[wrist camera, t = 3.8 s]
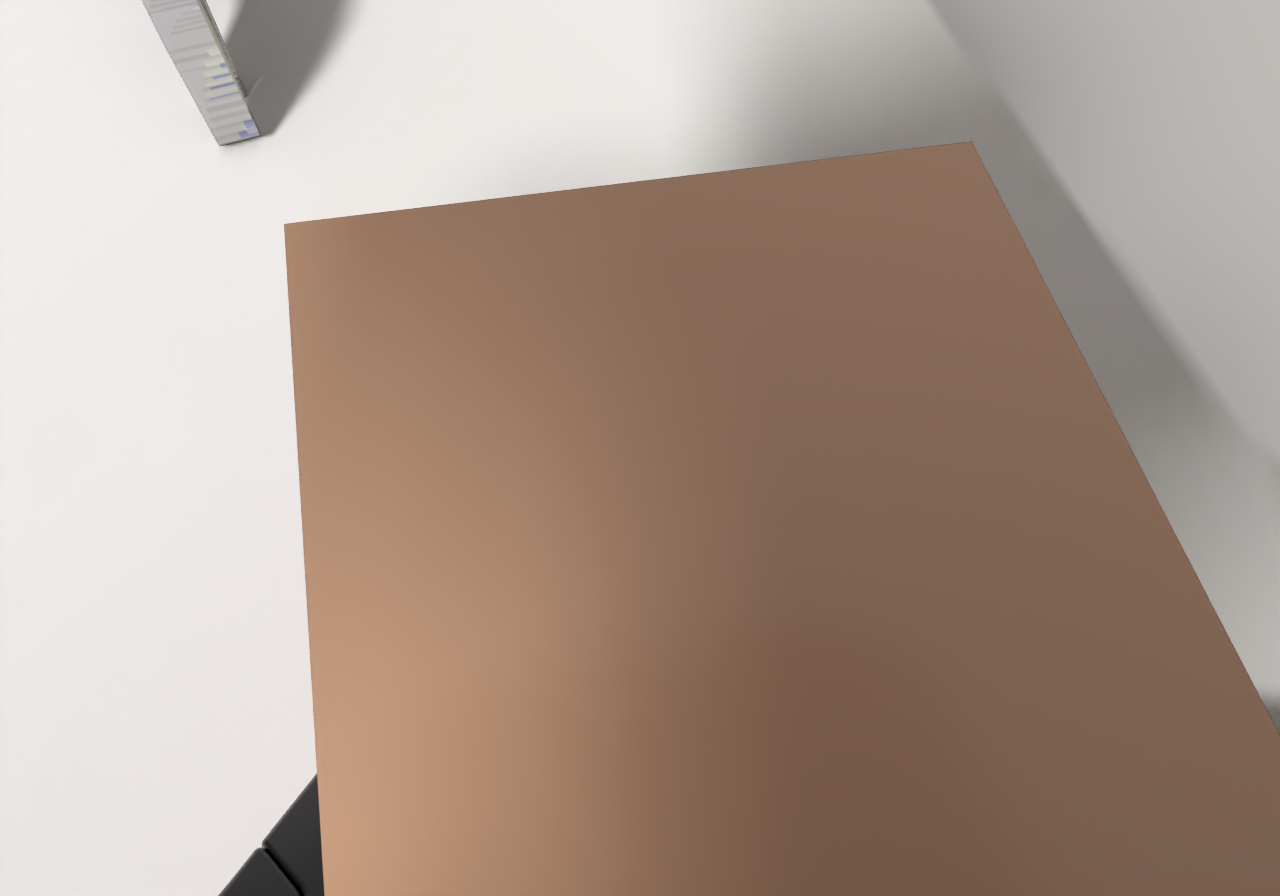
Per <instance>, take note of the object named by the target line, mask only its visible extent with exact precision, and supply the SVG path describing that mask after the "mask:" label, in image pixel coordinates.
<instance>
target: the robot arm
mask: <svg viewBox="0 0 1280 896" xmlns="http://www.w3.org/2000/svg"><path fill="white" fill-rule="evenodd" d="M218 896H325V895H324V878H323V862H322V845H321V829H320V812H319V795H318V779H317V774H316V775H315V776H314V778H313V779H312V780H311V781H310V783H309V784H308V785H307V786H306V788H305V789H304V790H303V791H302V793H301V794H300V795H299V796H298V798H297V799H296V800H295V801H294V803H293V804H292V805H291V806H290V808H289V809H288V810H287V811H286V813H285V814H284V815H283V816H282V818H281V819H280V820H279V821H278V823H277V824H276V825H275V826H274V828H273V829H272V830H271V831H270V833H269V834H268V835H267V836H266V838H265V839H264V840H263V842H262V848H258V849H256V850H255V851H254V852H253V853H252V855H251V856H250V857H249V858H248V860H247V861H246V862H245V863H244V865H243V866H242V867H241V868H240V870H239V871H238V872H237V873H236V875H235V876H234V877H233V878H232V880H231V881H230V882H229V883H228V885H227V886H226V887H225V888H224V889H223V891H222V892H221V893H220V894H219V895H218Z"/></svg>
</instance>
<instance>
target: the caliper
mask: <svg viewBox="0 0 1280 896" xmlns="http://www.w3.org/2000/svg"><path fill="white" fill-rule="evenodd" d="M142 2H143V4H144V6H145V8H146V10H147V12H148V14H149V16H150V18H151V20H152V22H153V24H154V26H155V28H156V30H157V32H158V34H159V36H160V38H161V40H162V42H163V44H164V46H165V48H166V49H167V51H168V53H169V55H170V57H171V59H172V61H173V62H174V64H175V66H176V68H177V70H178V72H179V73H180V75H181V77H182V79H183V81H184V83H185V85H186V86H187V88H188V90H189V92H190V94H191V96H192V97H193V99H194V101H195V103H196V105H197V107H198V108H199V110H200V112H201V114H202V116H203V118H204V120H205V121H206V123H207V125H208V127H209V129H210V130H211V132H212V134H213V136H214V138H215V140H216V141H217V143H218V145H219V146H223V145H226V144H230V143H234V142H238V141H242V140H246V139H250V138H253V137H257V136H261V135H260V131H259V129H258V127H257V125H256V123H255V120H254V118H253V116H252V114H251V112H250V109H249V107H248V105H247V103H246V101H245V98H246V97H247V96H246V93H245V90H244V88H243V85H242V82H241V80H240V78H239V75H238V73H237V71H236V68H235V66H234V64H233V62H232V59H231V57H230V55H229V52H228V50H227V48H226V45H225V43H224V41H223V39H222V36H221V34H220V32H219V29H218V27H217V25H216V22H215V20H214V18H213V15H212V13H211V11H210V9H209V6H208V4H207V2H206V0H142Z"/></svg>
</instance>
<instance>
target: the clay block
mask: <svg viewBox="0 0 1280 896" xmlns="http://www.w3.org/2000/svg"><path fill="white" fill-rule="evenodd" d="M284 231H285V247H286V264H287V281H288V297H289V314H290V330H291V347H292V364H293V380H294V397H295V413H296V430H297V447H298V463H299V480H300V496H301V513H302V530H303V546H304V563H305V580H306V596H307V613H308V629H309V646H310V663H311V679H312V696H313V712H314V729H315V746H316V762H317V779H318V795H319V812H320V829H321V845H322V862H323V878H324V895H325V896H1280V735H1279V733H1278V731H1277V729H1276V727H1275V725H1274V723H1273V721H1272V719H1271V718H1270V716H1269V714H1268V712H1267V710H1266V708H1265V706H1264V704H1263V702H1262V700H1261V698H1260V696H1259V694H1258V692H1257V691H1256V689H1255V687H1254V685H1253V683H1252V681H1251V679H1250V677H1249V675H1248V673H1247V671H1246V669H1245V667H1244V666H1243V664H1242V662H1241V660H1240V658H1239V656H1238V654H1237V652H1236V650H1235V648H1234V646H1233V644H1232V642H1231V640H1230V639H1229V637H1228V635H1227V633H1226V631H1225V629H1224V627H1223V625H1222V623H1221V621H1220V619H1219V617H1218V615H1217V614H1216V612H1215V610H1214V608H1213V606H1212V604H1211V602H1210V600H1209V598H1208V596H1207V594H1206V592H1205V590H1204V588H1203V587H1202V585H1201V583H1200V581H1199V579H1198V577H1197V575H1196V573H1195V571H1194V569H1193V567H1192V565H1191V563H1190V562H1189V560H1188V558H1187V556H1186V554H1185V552H1184V550H1183V548H1182V546H1181V544H1180V542H1179V540H1178V538H1177V536H1176V535H1175V533H1174V531H1173V529H1172V527H1171V525H1170V523H1169V521H1168V519H1167V517H1166V515H1165V513H1164V511H1163V510H1162V508H1161V506H1160V504H1159V502H1158V500H1157V498H1156V496H1155V494H1154V492H1153V490H1152V488H1151V486H1150V484H1149V483H1148V481H1147V479H1146V477H1145V475H1144V473H1143V471H1142V469H1141V467H1140V465H1139V463H1138V461H1137V459H1136V458H1135V456H1134V454H1133V452H1132V450H1131V448H1130V446H1129V444H1128V442H1127V440H1126V438H1125V436H1124V434H1123V432H1122V431H1121V429H1120V427H1119V425H1118V423H1117V421H1116V419H1115V417H1114V415H1113V413H1112V411H1111V409H1110V407H1109V406H1108V404H1107V402H1106V400H1105V398H1104V396H1103V394H1102V392H1101V390H1100V388H1099V386H1098V384H1097V382H1096V380H1095V379H1094V377H1093V375H1092V373H1091V371H1090V369H1089V367H1088V365H1087V363H1086V361H1085V359H1084V357H1083V355H1082V354H1081V352H1080V350H1079V348H1078V346H1077V344H1076V342H1075V340H1074V338H1073V336H1072V334H1071V332H1070V330H1069V328H1068V327H1067V325H1066V323H1065V321H1064V319H1063V317H1062V315H1061V313H1060V311H1059V309H1058V307H1057V305H1056V303H1055V302H1054V300H1053V298H1052V296H1051V294H1050V292H1049V290H1048V288H1047V286H1046V284H1045V282H1044V280H1043V278H1042V276H1041V275H1040V273H1039V271H1038V269H1037V267H1036V265H1035V263H1034V261H1033V259H1032V257H1031V255H1030V253H1029V251H1028V250H1027V248H1026V246H1025V244H1024V242H1023V240H1022V238H1021V236H1020V234H1019V232H1018V230H1017V228H1016V226H1015V224H1014V223H1013V221H1012V219H1011V217H1010V215H1009V213H1008V211H1007V209H1006V207H1005V205H1004V203H1003V201H1002V199H1001V198H1000V196H999V194H998V192H997V190H996V188H995V186H994V184H993V182H992V180H991V178H990V176H989V174H988V172H987V171H986V169H985V167H984V165H983V163H982V161H981V159H980V157H979V155H978V153H977V151H976V149H975V147H974V146H973V144H972V142H963V143H954V144H946V145H938V146H929V147H921V148H913V149H904V150H896V151H888V152H880V153H871V154H863V155H855V156H846V157H838V158H830V159H821V160H813V161H805V162H796V163H788V164H780V165H771V166H763V167H755V168H746V169H738V170H730V171H721V172H713V173H705V174H696V175H688V176H680V177H671V178H663V179H655V180H646V181H638V182H630V183H622V184H613V185H605V186H597V187H588V188H580V189H572V190H563V191H555V192H547V193H538V194H530V195H522V196H513V197H505V198H497V199H488V200H480V201H472V202H463V203H455V204H447V205H438V206H430V207H422V208H413V209H405V210H397V211H388V212H380V213H372V214H363V215H355V216H347V217H339V218H330V219H322V220H314V221H305V222H297V223H289V224H284Z"/></svg>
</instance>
